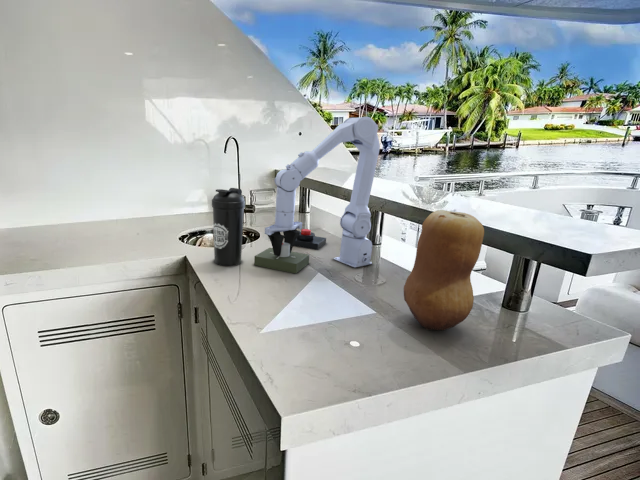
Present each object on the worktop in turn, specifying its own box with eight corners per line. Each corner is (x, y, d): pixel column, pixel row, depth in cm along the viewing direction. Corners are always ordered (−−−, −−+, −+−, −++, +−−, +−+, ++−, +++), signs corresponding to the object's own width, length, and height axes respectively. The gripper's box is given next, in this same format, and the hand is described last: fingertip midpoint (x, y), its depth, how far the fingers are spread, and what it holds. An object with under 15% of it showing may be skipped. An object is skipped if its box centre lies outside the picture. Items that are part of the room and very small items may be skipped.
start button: (312, 234, 142) (312, 229, 142) (308, 236, 139) (309, 231, 139) (302, 232, 144) (303, 228, 143) (299, 234, 141) (299, 230, 140)
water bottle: (205, 261, 121) (204, 188, 113) (227, 254, 128) (228, 185, 120) (227, 269, 114) (228, 192, 107) (250, 261, 122) (252, 189, 114)
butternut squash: (480, 337, 79) (512, 219, 70) (424, 343, 76) (450, 220, 68) (435, 308, 91) (457, 205, 83) (385, 312, 89) (402, 206, 80)
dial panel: (308, 263, 121) (309, 254, 120) (296, 273, 112) (296, 263, 111) (269, 256, 128) (269, 247, 127) (254, 265, 119) (254, 255, 118)
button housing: (325, 243, 144) (326, 233, 143) (317, 249, 136) (318, 239, 134) (293, 238, 150) (294, 228, 149) (283, 244, 142) (284, 233, 140)
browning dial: (282, 252, 122) (282, 240, 121) (292, 255, 119) (293, 243, 117) (272, 254, 119) (273, 242, 118) (282, 258, 116) (283, 245, 115)
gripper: (277, 215, 107) (275, 261, 111) (310, 210, 116) (307, 252, 120) (260, 211, 112) (258, 255, 116) (293, 206, 121) (290, 247, 125)
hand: (282, 253), depth 119 cm, fingers closed on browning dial, 4 cm apart
